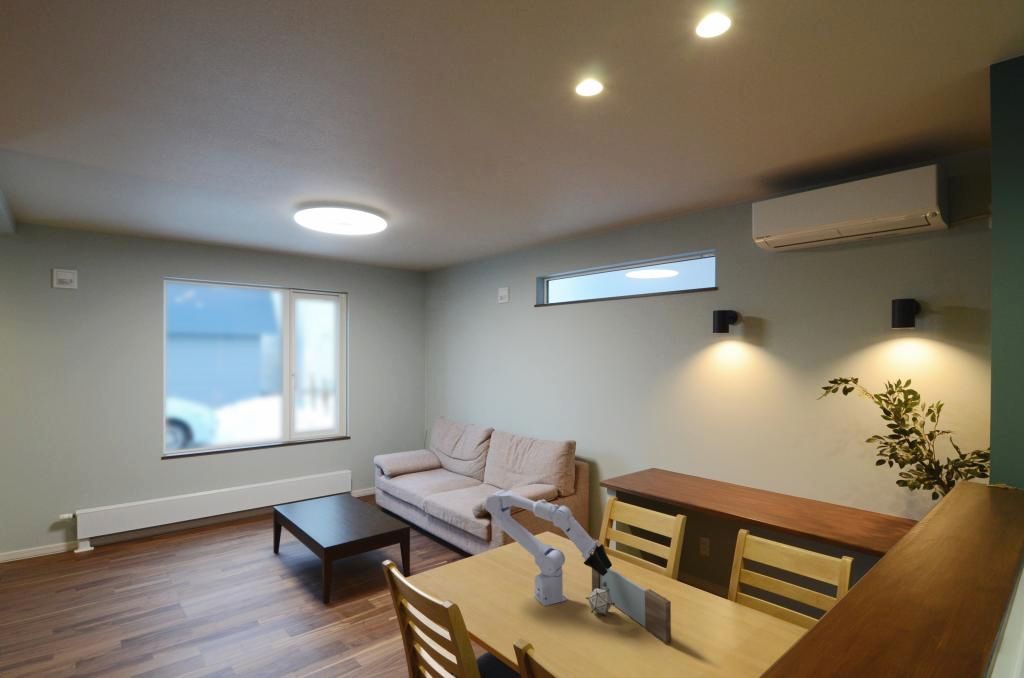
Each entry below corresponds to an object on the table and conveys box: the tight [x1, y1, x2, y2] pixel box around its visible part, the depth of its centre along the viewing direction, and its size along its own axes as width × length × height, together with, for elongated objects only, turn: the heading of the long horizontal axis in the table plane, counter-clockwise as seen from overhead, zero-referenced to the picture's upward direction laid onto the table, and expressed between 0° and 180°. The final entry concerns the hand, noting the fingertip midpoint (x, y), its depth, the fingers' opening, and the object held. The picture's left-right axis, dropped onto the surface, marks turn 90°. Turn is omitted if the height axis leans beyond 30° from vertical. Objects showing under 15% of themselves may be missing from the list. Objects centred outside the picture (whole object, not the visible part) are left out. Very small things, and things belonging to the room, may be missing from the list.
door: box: [600, 567, 646, 628], centre depth 170 cm, size 2×24×11 cm, turn 26°
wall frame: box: [591, 568, 672, 645], centre depth 168 cm, size 2×38×12 cm, turn 26°
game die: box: [585, 586, 615, 618], centre depth 169 cm, size 9×8×10 cm
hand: (607, 570), depth 170 cm, fingers open, 7 cm apart
